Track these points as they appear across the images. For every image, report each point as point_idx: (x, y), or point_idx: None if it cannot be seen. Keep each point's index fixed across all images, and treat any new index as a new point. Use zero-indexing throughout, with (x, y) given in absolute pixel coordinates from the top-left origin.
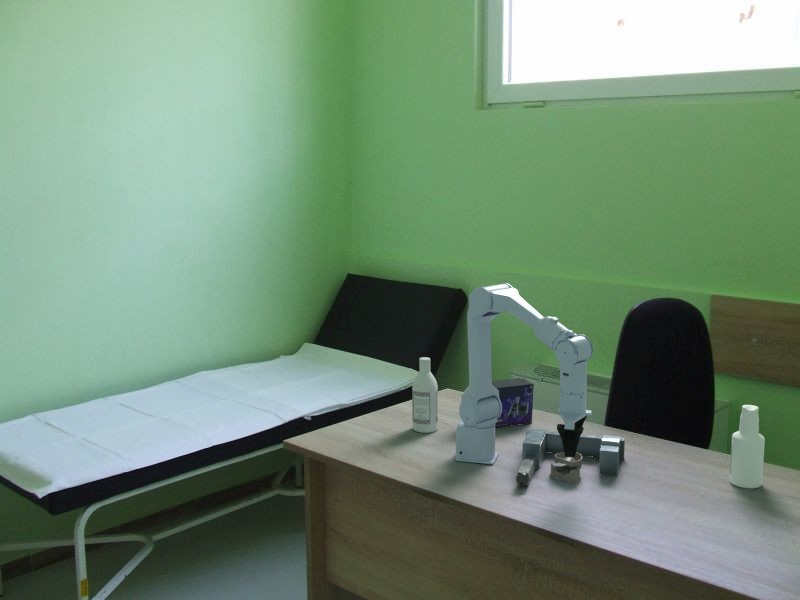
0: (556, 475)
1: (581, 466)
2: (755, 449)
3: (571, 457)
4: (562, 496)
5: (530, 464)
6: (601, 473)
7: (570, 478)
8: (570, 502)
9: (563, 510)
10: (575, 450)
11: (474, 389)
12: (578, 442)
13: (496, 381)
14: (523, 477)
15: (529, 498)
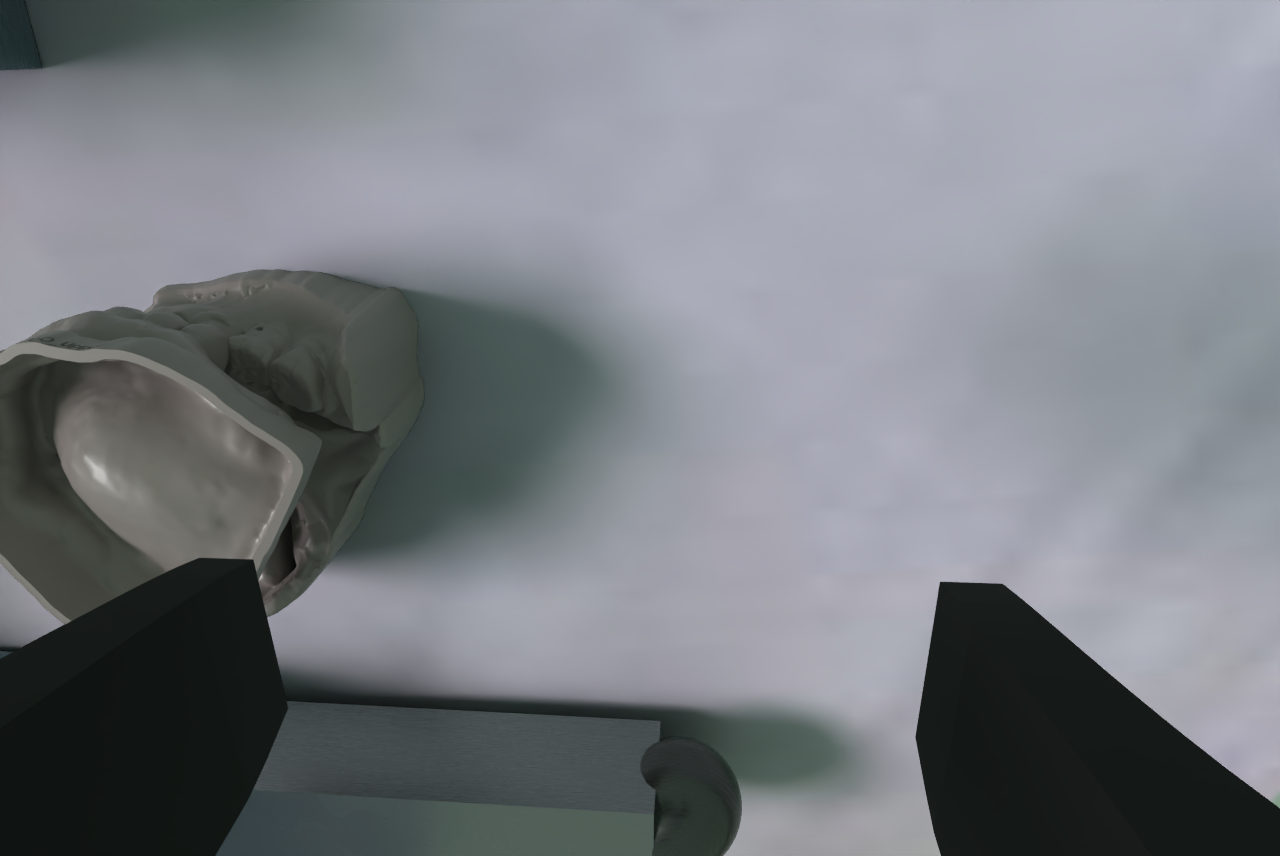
0: (352, 521)
1: (122, 308)
2: None
3: (99, 473)
4: (792, 417)
5: (411, 811)
6: (19, 42)
7: (402, 389)
8: (935, 329)
9: (1155, 380)
10: (1111, 690)
11: None
12: (212, 588)
13: None
14: (724, 828)
15: (899, 676)
